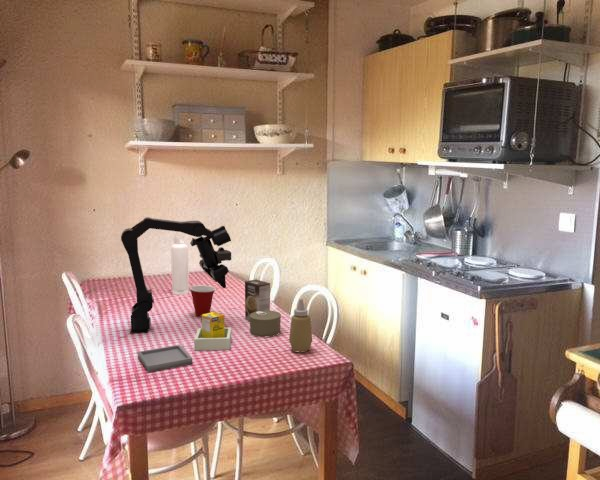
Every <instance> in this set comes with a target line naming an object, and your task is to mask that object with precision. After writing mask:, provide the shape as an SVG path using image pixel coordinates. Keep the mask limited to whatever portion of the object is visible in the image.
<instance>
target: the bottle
mask: <svg viewBox="0 0 600 480" xmlns="http://www.w3.org/2000/svg"><path fill="white" fill-rule="evenodd" d="M173 242H174V243H173V244H172V245H171V247H170V255H171V256H170V259H171V260H170V261H171V263H170V264H171V287H172V295H177V296H180V295H181V296H183V295H187V294H189V293H190V282H189V280H190V279H189V278H190V277H189V275H190V274H189V249H188V248H189V247H188V245H187V244H186V243H185V236H182V235H177V236H173Z"/></svg>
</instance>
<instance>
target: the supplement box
mask: <svg viewBox="0 0 600 480" xmlns="http://www.w3.org/2000/svg"><path fill="white" fill-rule="evenodd" d="M225 322H226V321H225V314H223V313H220V312H218V311H210V313H207V314H202V317H201V328H202V338H225V328H226V327H225V325H226V324H225Z"/></svg>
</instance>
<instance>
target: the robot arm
mask: <svg viewBox="0 0 600 480" xmlns="http://www.w3.org/2000/svg"><path fill="white" fill-rule="evenodd" d="M149 229H152V230H162V231H170V232H171V231H172V232H180V233H182V234H186V235H189V236H192V238H191V241H190V242H189V244H190V246H191V247H195V246H196V248H197V249H198V252H199V257H200V258H201V259H200V260H199V262H198V264H199V267H200V268H201V269H202V270H203V271H204V272H205V273H206V274H207V275H208V276H209V277H210V278H211V279H212V281H214V282H215V283H216V282H217V283H218V284H219V286H221V288H223V289H226V288H227V283H226V276H227V275H228V273H229V271H230V270H229V268H228V267H227V266H226V265H225V264H223V262H224V261H232V251H230V250H227V249H225V248H224V247H223V245H225V244H227V243H230V242H232V239H231V236H230V234H229V232H228V230H227V229H226V226H225V225H221V226H219V227H218V228H215V229H213V230H210V228H207V227H206V226H205V224H204V223H203V222H201V221H200V220H185V221H179V220H178V221H176V220H168V219H161V218H152V217H149V216H147V217H144V218H143V219H142V220H141V221H139V222H138V223H136V224H135V225H133V226H132V227H130V228H129V227H128V228H125V229H124V230H123V231H122V233H121V236H120V241H121V243H122V245H123V247H124V249H125V251H126V253H127V257H128V258H129V263H130V264H129V265H130V268H131V272H132V276H133V280H134V286H135V290H136V302H135V303H134V305H133V306H131V314H130V331H129V333H130V334H131V333H135V334H137V333H148V332H149V331H150V329H151V328H152V325H151V324H152V323H151V317H150V311H152V309H153V306H154V305H153V304H154V303H155V298H154V296H153V292H152V291H153V290H152V288H150V289H148V287H147V285H146V281H145V276H144V273H143V267H142V263H141V259H140V255H139V246H138V245H139V243H138V242H139V241H138V238H140V237H141V236H142V235H143V234H145V233H146V232H147V231H149ZM194 237H196V238H194ZM211 241H212V242H211ZM212 243H213V244H212ZM214 246H217V247H218V249H217V250H215V248H214ZM219 246H220V247H219Z"/></svg>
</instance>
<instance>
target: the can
mask: <svg viewBox="0 0 600 480" xmlns="http://www.w3.org/2000/svg"><path fill="white" fill-rule="evenodd" d="M249 317H250V321H249V330H250V331H249V333H250V335H251V336H255V337H258V336H260V337H259V338H266V337H265V336H272V337H274V336H273V335H276V336H277V334H278V333H280V334H281V317H282V314H281V313H280V312H278V311H276V310H275V311H274V310H270V311H268V310H264V311H256V312H253V313H251V314H250V315H249ZM278 335H279V334H278Z"/></svg>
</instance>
